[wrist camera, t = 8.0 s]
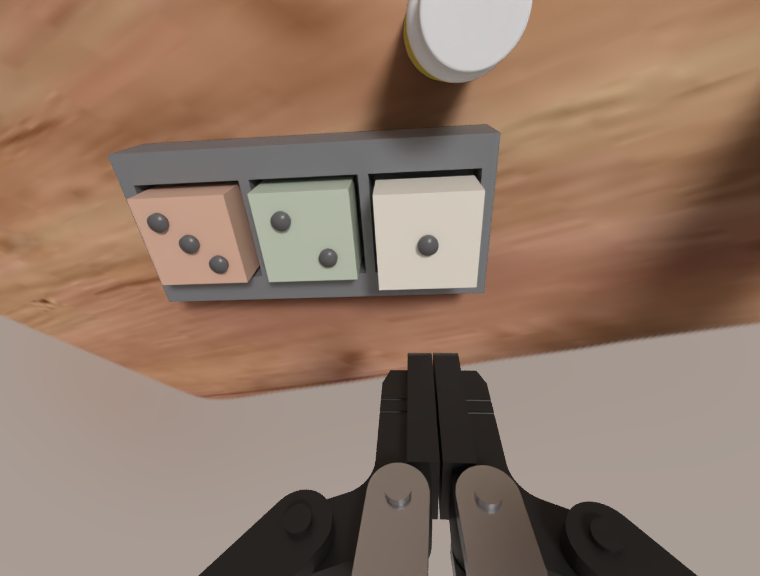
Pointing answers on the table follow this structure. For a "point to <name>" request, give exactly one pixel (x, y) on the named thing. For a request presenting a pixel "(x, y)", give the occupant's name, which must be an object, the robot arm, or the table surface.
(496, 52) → the supplement bottle
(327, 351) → the table surface
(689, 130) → the table surface
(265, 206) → the tile two
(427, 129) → the well board
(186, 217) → the tile three
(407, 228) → the tile one
